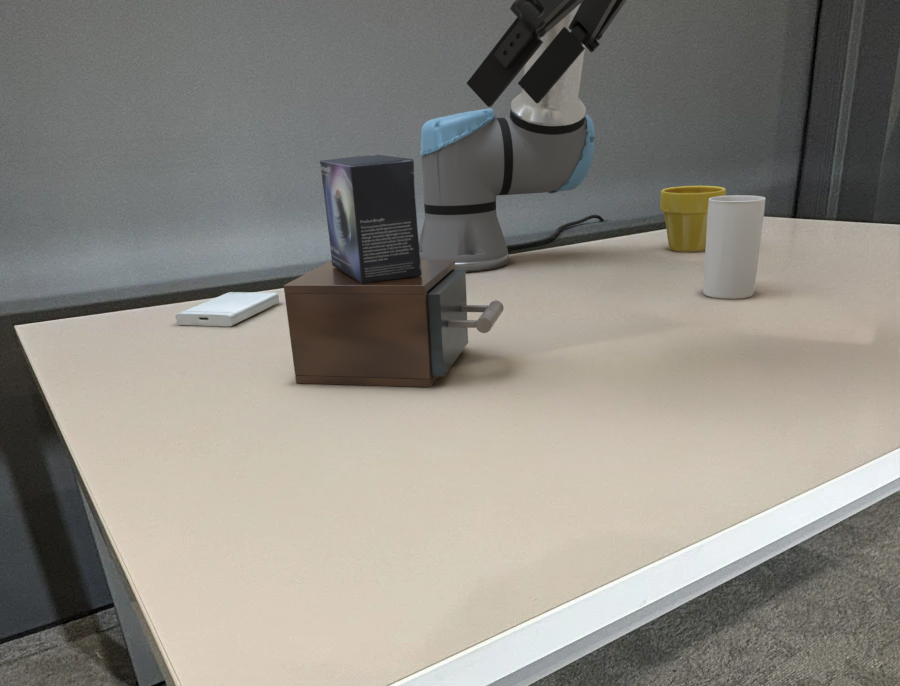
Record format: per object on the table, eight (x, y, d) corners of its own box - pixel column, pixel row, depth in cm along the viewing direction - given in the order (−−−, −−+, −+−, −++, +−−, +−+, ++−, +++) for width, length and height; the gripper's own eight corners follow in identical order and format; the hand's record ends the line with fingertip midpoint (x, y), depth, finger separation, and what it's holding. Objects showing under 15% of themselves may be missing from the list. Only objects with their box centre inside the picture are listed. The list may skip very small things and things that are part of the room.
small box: (327, 267, 81) (315, 158, 77) (387, 260, 84) (379, 153, 79) (357, 284, 72) (346, 162, 68) (424, 276, 75) (417, 157, 70)
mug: (749, 301, 99) (759, 201, 95) (694, 297, 103) (702, 201, 98) (765, 285, 107) (775, 192, 102) (714, 282, 110) (722, 192, 106)
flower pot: (683, 256, 129) (688, 193, 125) (645, 248, 138) (648, 189, 134) (734, 249, 133) (740, 188, 129) (693, 241, 142) (697, 184, 138)
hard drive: (226, 291, 112) (174, 312, 101) (278, 292, 110) (230, 313, 99) (228, 303, 113) (176, 325, 102) (280, 304, 111) (232, 326, 100)
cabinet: (458, 349, 86) (455, 259, 82) (430, 387, 75) (424, 285, 71) (340, 347, 89) (331, 260, 85) (295, 383, 78) (283, 285, 74)
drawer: (507, 343, 84) (506, 269, 81) (488, 377, 74) (486, 294, 70) (357, 341, 87) (350, 269, 84) (319, 373, 77) (309, 293, 74)
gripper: (697, -128, 51) (485, 131, 63) (733, -67, 72) (569, 119, 84) (618, -215, 51) (420, 60, 63) (677, -128, 72) (520, 66, 83)
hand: (505, 94), depth 73 cm, fingers open, 13 cm apart
